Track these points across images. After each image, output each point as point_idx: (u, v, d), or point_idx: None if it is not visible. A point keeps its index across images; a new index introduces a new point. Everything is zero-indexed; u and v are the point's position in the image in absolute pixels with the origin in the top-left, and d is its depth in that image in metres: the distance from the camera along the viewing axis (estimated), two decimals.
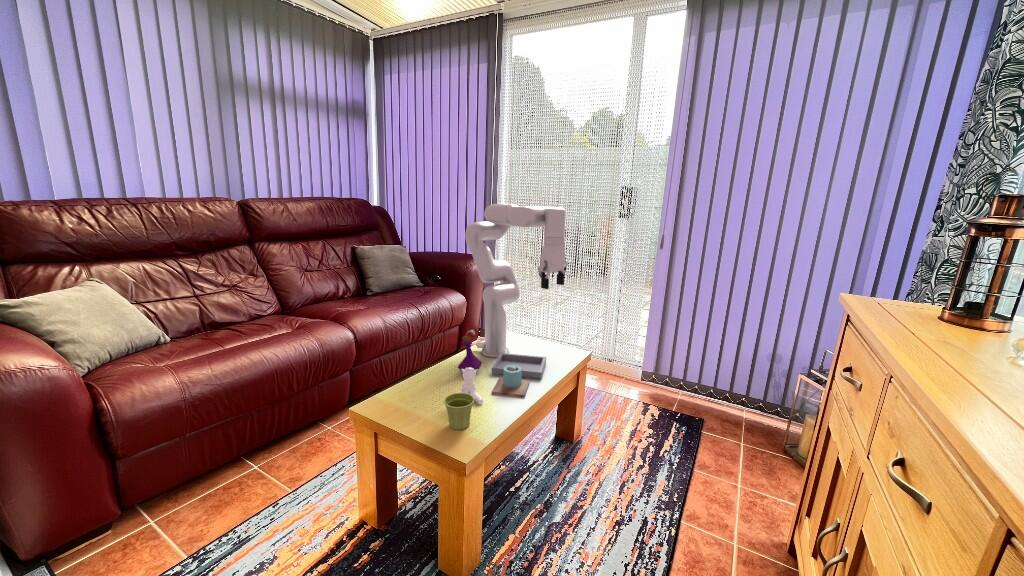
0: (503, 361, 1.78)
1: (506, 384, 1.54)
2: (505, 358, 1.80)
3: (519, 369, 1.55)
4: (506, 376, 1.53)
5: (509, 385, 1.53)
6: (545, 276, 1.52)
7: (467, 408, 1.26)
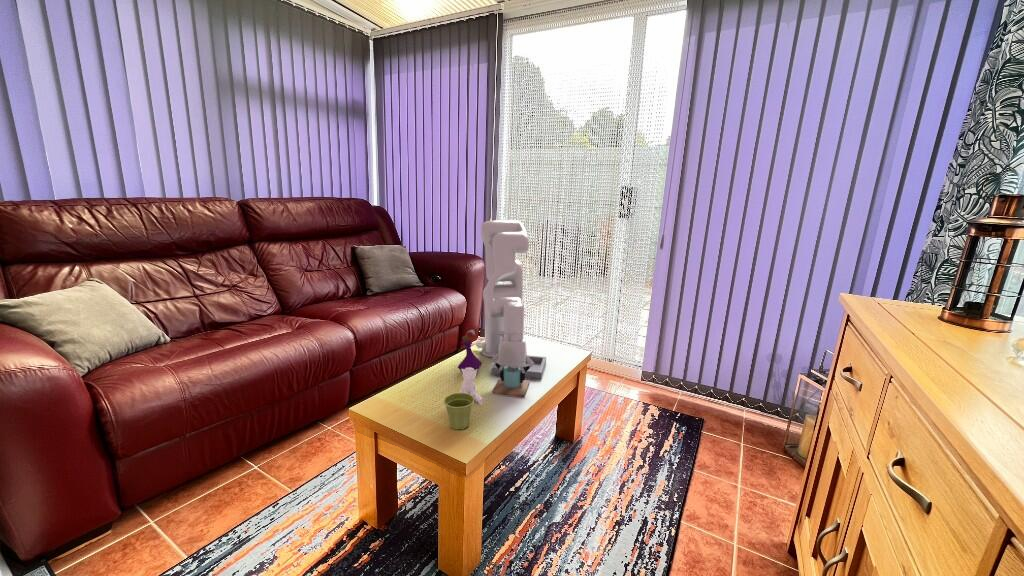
0: None
1: (506, 384, 1.54)
2: None
3: (519, 369, 1.55)
4: (506, 376, 1.53)
5: (509, 385, 1.53)
6: None
7: (467, 408, 1.26)
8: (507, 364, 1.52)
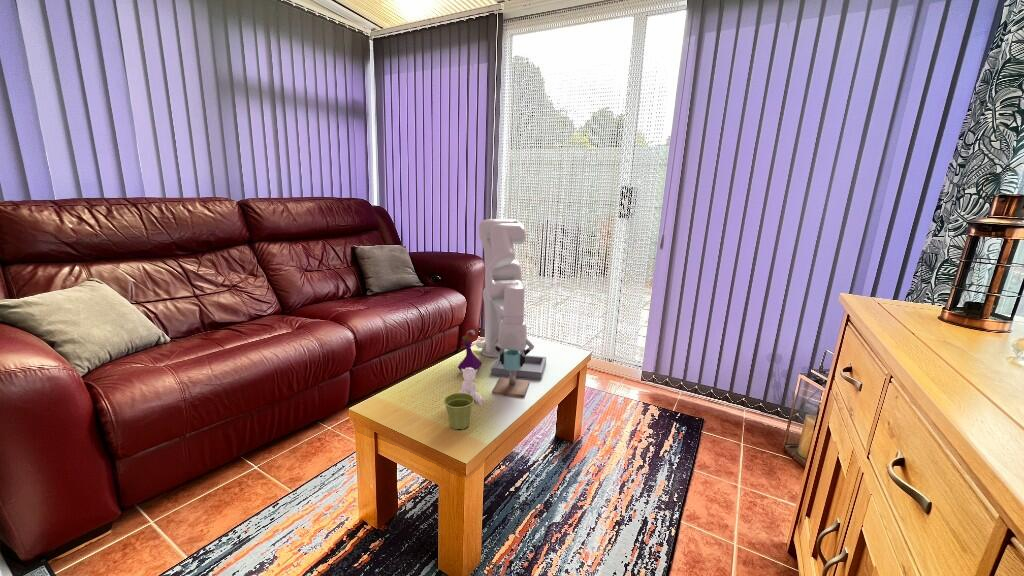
0: None
1: (506, 367, 1.53)
2: None
3: (519, 352, 1.54)
4: (506, 359, 1.52)
5: (509, 368, 1.53)
6: None
7: (467, 408, 1.26)
8: (507, 347, 1.51)
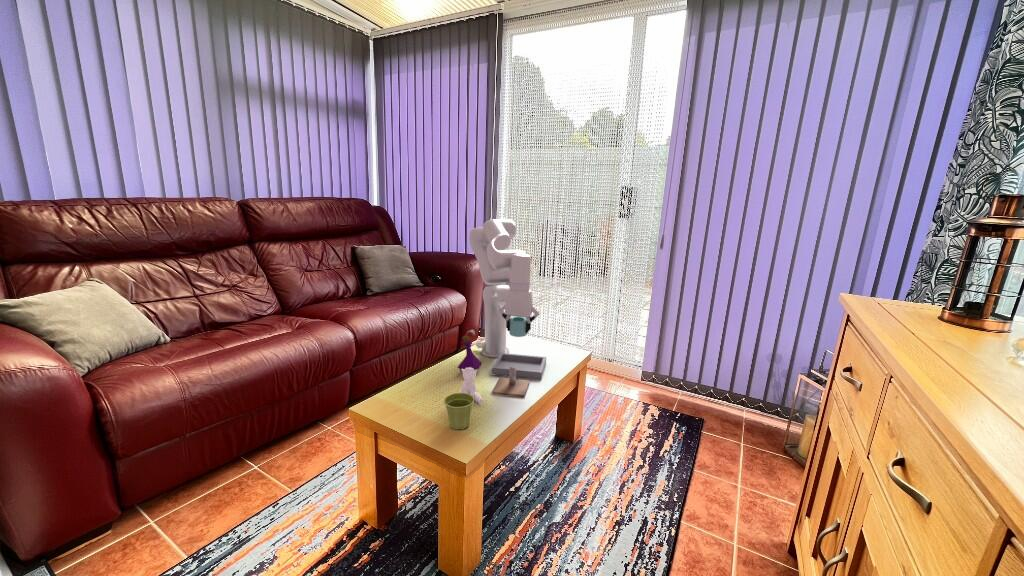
0: (503, 361, 1.78)
1: (512, 333, 1.59)
2: (505, 358, 1.80)
3: (525, 319, 1.59)
4: (512, 325, 1.58)
5: (515, 334, 1.58)
6: None
7: (467, 408, 1.26)
8: (513, 314, 1.57)
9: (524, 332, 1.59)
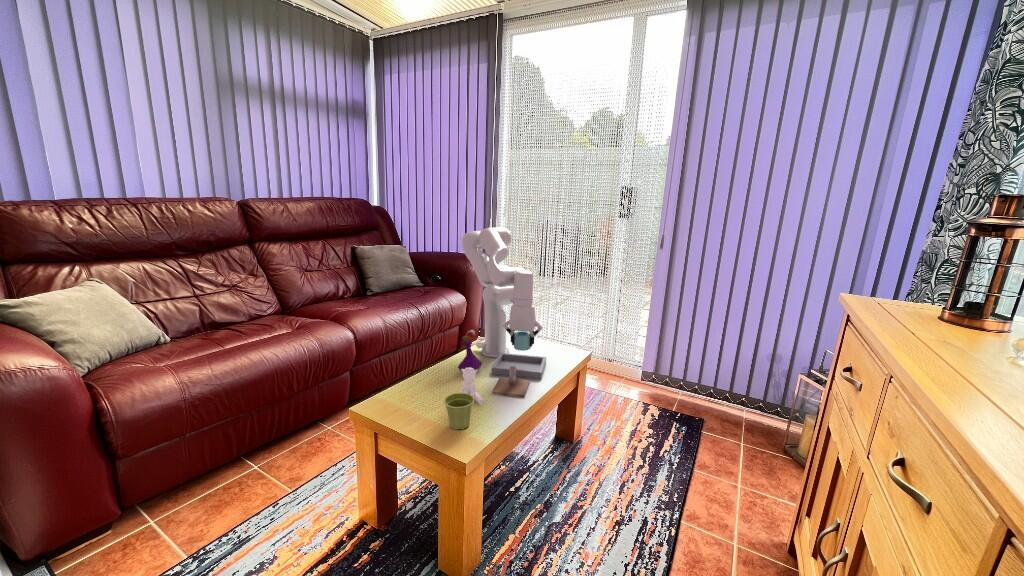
0: (503, 361, 1.78)
1: (516, 347, 1.65)
2: (505, 358, 1.80)
3: (528, 333, 1.66)
4: (516, 340, 1.64)
5: (519, 348, 1.64)
6: None
7: (467, 408, 1.26)
8: (517, 329, 1.63)
9: (528, 346, 1.65)
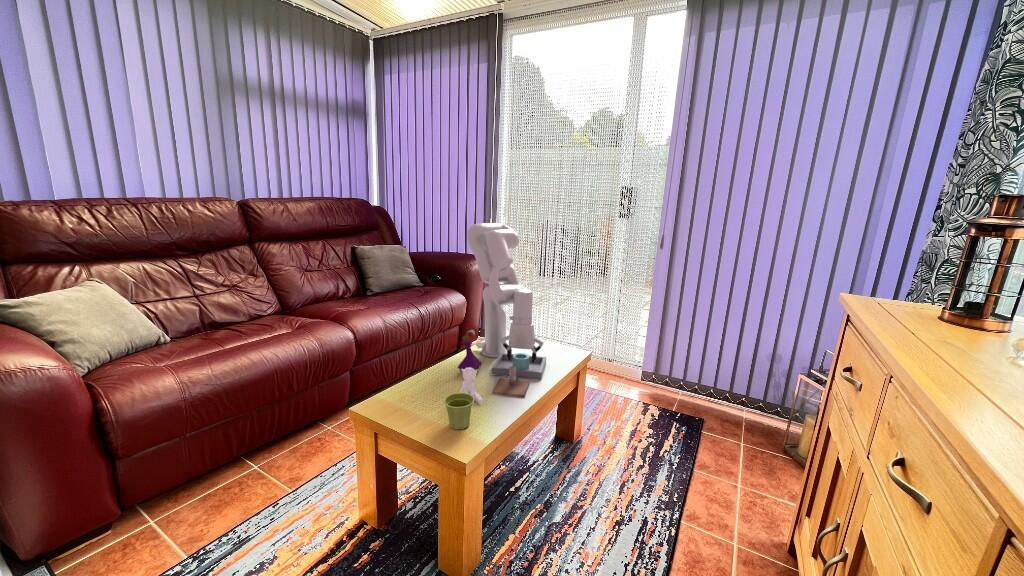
0: (503, 361, 1.78)
1: None
2: (505, 358, 1.80)
3: (527, 356, 1.68)
4: (515, 363, 1.67)
5: None
6: None
7: (467, 408, 1.26)
8: (516, 346, 1.65)
9: (526, 369, 1.68)
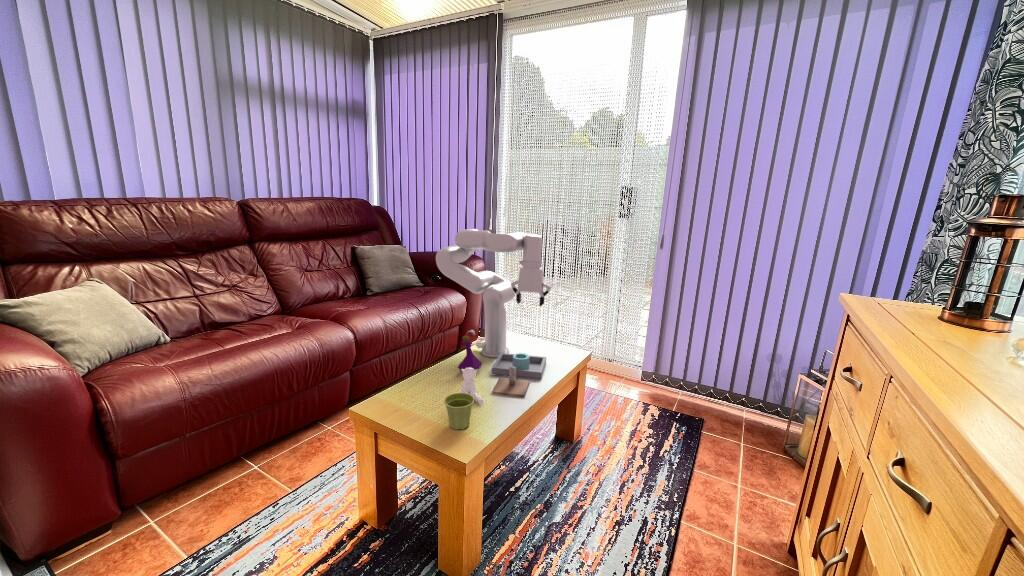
0: (503, 361, 1.78)
1: None
2: (505, 358, 1.80)
3: (527, 356, 1.68)
4: (515, 363, 1.67)
5: None
6: None
7: (467, 408, 1.26)
8: (525, 290, 1.72)
9: (526, 369, 1.68)
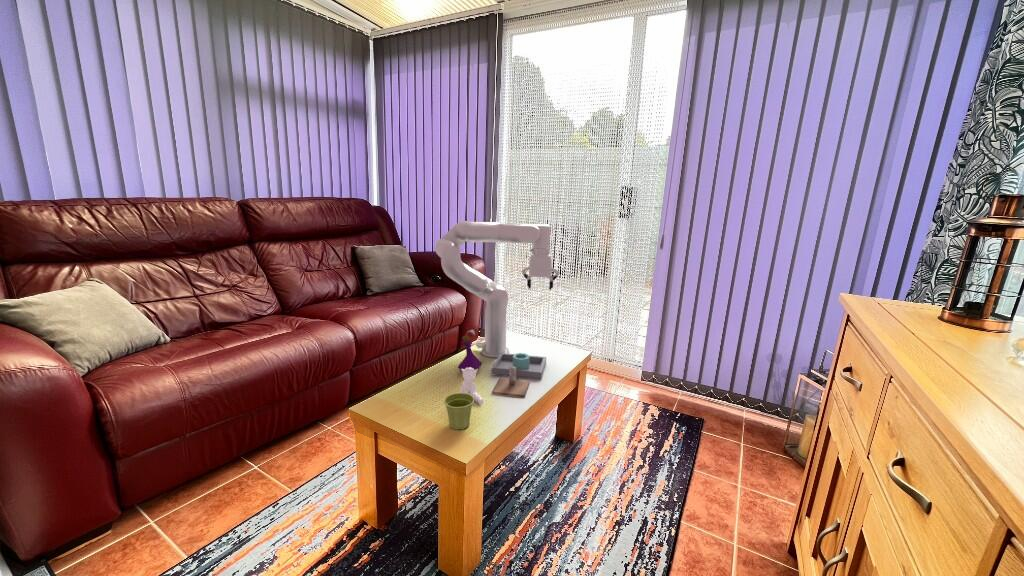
0: (503, 361, 1.78)
1: None
2: (505, 358, 1.80)
3: (527, 356, 1.68)
4: (515, 363, 1.67)
5: None
6: None
7: (467, 408, 1.26)
8: (536, 275, 1.87)
9: (526, 369, 1.68)
